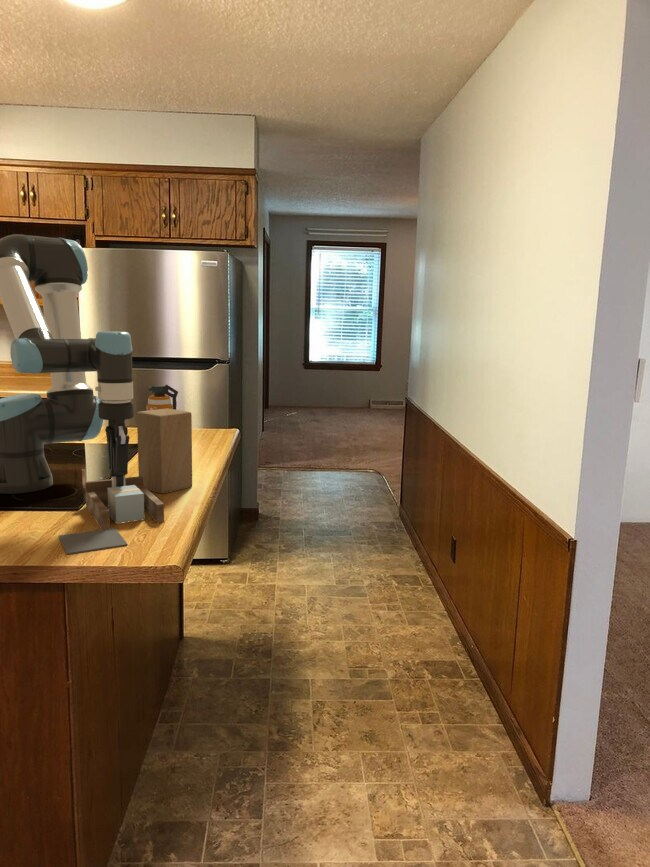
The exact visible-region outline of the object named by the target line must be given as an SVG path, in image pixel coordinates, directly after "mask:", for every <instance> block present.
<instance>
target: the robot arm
mask: <svg viewBox="0 0 650 867" xmlns="http://www.w3.org/2000/svg"><path fill="white" fill-rule="evenodd" d="M88 271H89V266H88V261H87V257H86V253H85V251H84V249H83V247H82V246H81V244H80V243H79V242H77V241H75V240H73V239H67V238H63V237H51V236H50V237H49V236H48V237H47V236H38V235H29V234H28V235H27V234H18V233H17V234H16V233H15V234H10V235H6V236H4V237H1V238H0V301H1V305H2V307H3V310H4V312H5V315H6V317H7V320H8V323H9V325H10V328H11V331H12V332H13V333H12V334H13V336H14V338H15V339H13V340H12V341H11V343H10V353H9V354H10V361H11V366H12V368H13V369H14V370H15V371H16V372H17V373H21V374H34V375H35V374H37V375H38V374H48V373H49V374H50V381H51V386H50V388H49V389H48V390H47V391H46V398H45V399H44V398H42V396H41V395H40V394H39V393H27V394H26V393H24V394H18V395H17V394H16V395H9V396H5V397H1V398H0V494H12V495H13V494H24V493H33V492H37V491H42V490H45V489H48V488H50V487H52V486H53V484H54V480H53V474H52V471H51V469H50V467H49V464H48V461H47V460H46V457H45V449H44V448H45V447H44V446H45V445H49V444H59V443H60V444H61V443H70V442H83V441H88V440H94V439H95V438H97V437H98V436H99V434H100V433H101V429H102V428H103V424H104V421H108V423H107V424H108V425H106V426H105V429H104V431H105V434H106V435H105V436H106V444H107V456H108V457H107V458H108V469H109V470H110V474H109V475H110V477H111V479H112V487H120V486H126V485H125V478H126V475H128V472H129V471H128V470H129V468H128V465H129V442H130V436H129V435H128V434H129V433H128V431H129V430H128V427H127V426H126V422H125V421H126V420H131V419H133V418H134V416H135V414H134V413H135V411H134V402H133V401H132V400H133V399H134V380H133V346H132V343H133V342H132V335H131V334H130V333H129V332H128V331H115V330H113V331H112V330H111V331H107V330H105V331H97V332H96V334H95V338H93V337H88V338H82V332H81V324H80V315H79V306H78V297H77V296H78V295H79V293H80V292H81V291H82V290H83V287H82V285H85V284H86V282H87V280H88V275H89V274H88ZM31 282H33V283H34V285H33V286H34V290H35V292H37V293H38V294H39V295H40V297H41V298H42V306H43V307H42V308H43V311H42V309H41V307H40V304H39V302H38V299H37V297H36V295H35V292H34V290H33V287H32V285H31ZM86 372H87V373H88V372H96V374H97V376H96V377H97V380H96V381H97V385H98V386H95V387H94V389H95V391H96V392H97V395H94V389H93V388H92V386H90V385H89V384H88V383H87V376H86Z"/></svg>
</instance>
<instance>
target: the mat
mask: <svg viewBox="0 0 650 867" xmlns="http://www.w3.org/2000/svg"><path fill="white" fill-rule="evenodd" d="M58 538H59V540H60V543H61V545H62V547H63V549H64V552H65V553H66V555H74V554H75V555H76V554H80V553H88V552H94V551H100V550H106V549H113V547H115V548H121V547H127V545H128V543H127V541H126V540H125V538H124V537H123V536H122V535H121V533H120V532H119V530H117V528H116V527H110V528H109V529H95V530H88V531H87V530H86V531H81V532H73V533H67V534H66V533H65V534H58Z"/></svg>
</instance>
